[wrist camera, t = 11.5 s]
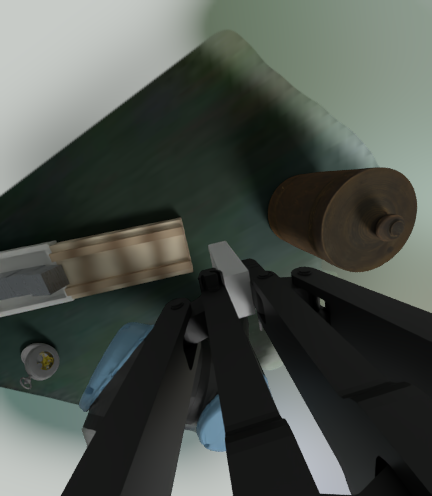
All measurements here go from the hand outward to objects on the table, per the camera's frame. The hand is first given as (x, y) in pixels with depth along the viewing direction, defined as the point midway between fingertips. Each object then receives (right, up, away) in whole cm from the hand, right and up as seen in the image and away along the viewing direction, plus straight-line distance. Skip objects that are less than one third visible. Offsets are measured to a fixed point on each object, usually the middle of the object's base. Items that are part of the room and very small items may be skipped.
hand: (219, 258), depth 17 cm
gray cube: (-30, -4, +22) cm, 38 cm away
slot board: (-18, -1, +25) cm, 31 cm away
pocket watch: (-38, -22, +29) cm, 53 cm away
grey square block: (-35, -5, +23) cm, 43 cm away
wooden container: (+18, +9, +28) cm, 35 cm away
